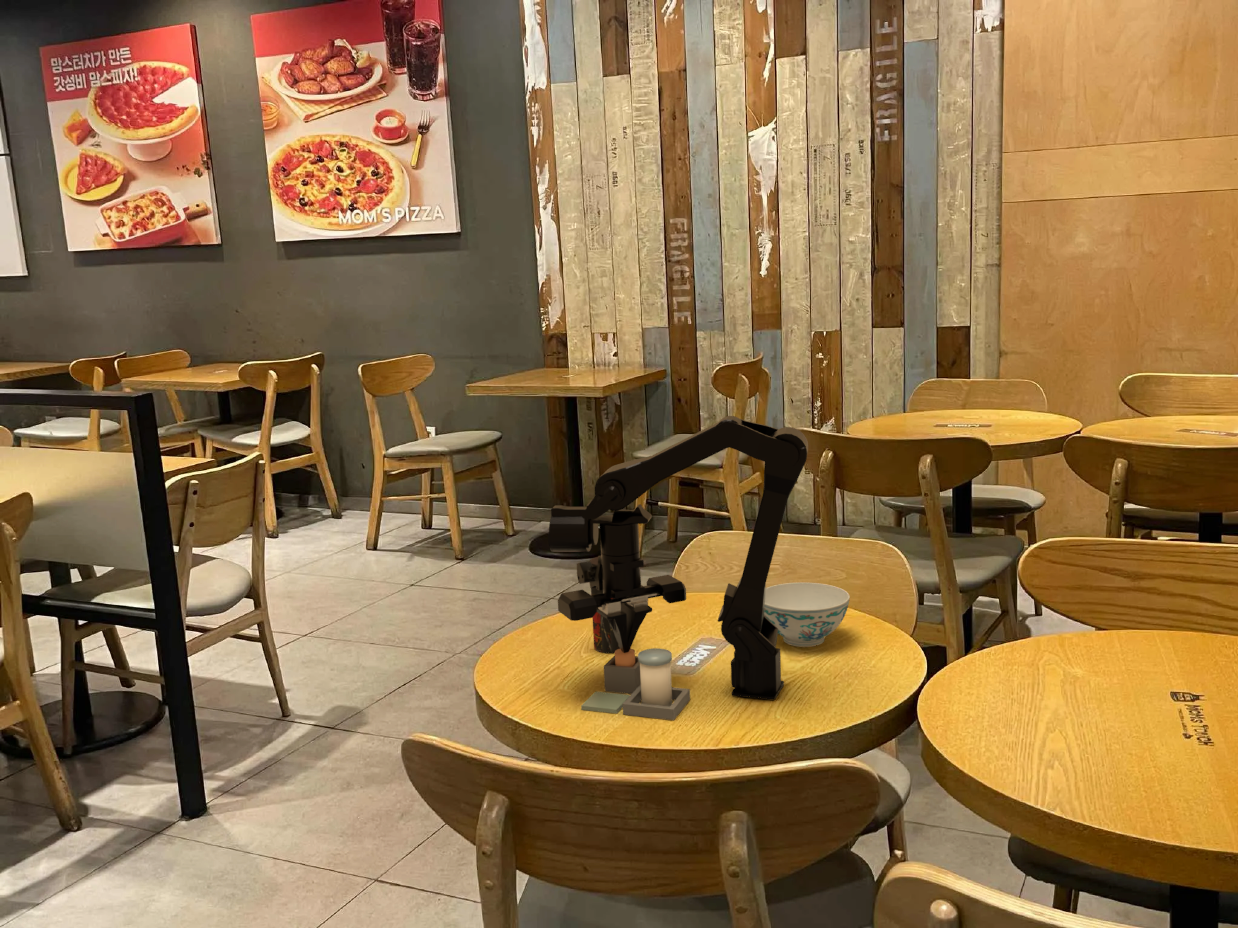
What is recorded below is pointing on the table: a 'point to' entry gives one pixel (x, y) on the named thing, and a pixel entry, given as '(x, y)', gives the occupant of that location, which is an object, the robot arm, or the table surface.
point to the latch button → (625, 658)
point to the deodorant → (602, 627)
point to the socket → (656, 711)
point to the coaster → (605, 702)
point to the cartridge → (655, 676)
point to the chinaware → (805, 611)
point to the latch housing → (621, 677)
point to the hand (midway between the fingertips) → (625, 651)
